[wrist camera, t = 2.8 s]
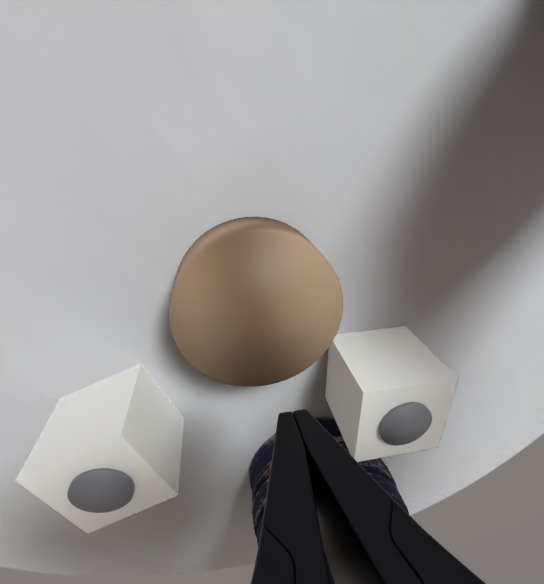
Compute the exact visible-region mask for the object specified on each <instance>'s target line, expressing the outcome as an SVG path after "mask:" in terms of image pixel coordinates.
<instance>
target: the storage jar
mask: <svg viewBox="0 0 544 584" xmlns="http://www.w3.org/2000/svg"><path fill="white" fill-rule="evenodd" d="M315 419H316V420H317V421H318V422H319V423H320V424H321V425H322V426H323V427H324V428H325V429H326V430H327V431H328V432H329V433H330V434H331V435H332V436H333V437H334V438H335V439H336V440H337V441H338V443H339V444H340V445H341V446H342V447H343V448H344V449H345V450H346V451H347V452H348V453H349V454H350V452H349V450H348V448H347V446H346V443H345V441H344V439H343V436H342V434H341V432H340V430H339V427H338V425H337V423H336V420H335V418H329V417H325V418H315ZM275 435H276V434H275ZM275 435H273V436H272V437H271V438H269V439H268V440H267V441H266V442H265V443H264V444H263V445H262V446H261V447H260V448H259V450H258V451H257V452H256V454H255V456H254V457H253V459H252V462H251V465H250V472H249V476H250V484H251V488H252V501H253V507H252V514H253V523H254V530H255V535H256V537H257V542H258V547H259V540H260V534H261V528H262V521H263V515H264V508H265V502H266V495H267V488H268V482H269V475H270V468H271V462H272V455H273V449H274V442H275ZM358 463H359V464H360V465H361V466H362V467H363V468H364V469H365V470H366V471H367V472H368V473H369V474H370V476H371V477H372V478H373V479H374V480H375V481H376V482H377V483H378V484H379V485H380V486H381V487H382V488H383V489H384V490H385V491H386V492H387V493H388V494H389V495H390V496H391V497H392V501H393V500H395V501H396V502H397V503H398V504H399V505H400V506H401V507H402V508H403V509H404V510H405V512H406V513H407V514H409V512H408V510H407V507H406V505H405V503H404V501H403V499H402V497H401V495H400V494H399V492H398V490H397V486H396V483H395V481H394V479H393V477H392V475H391V473H390V471H389V470H388V468H387V466H386V465H385V463H384V462H383V461H382V460H381V458H377V459H371V460H366V461H360V462H358ZM324 555H325V552H324ZM325 560H326V566H327V572H328V577H329V583H330V584H335V582H334V579H333V576H332V573H331V570H330V567H329V564H328V561H327V558H326V555H325Z"/></svg>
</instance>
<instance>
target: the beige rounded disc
mask: <svg viewBox="0 0 544 584" xmlns="http://www.w3.org/2000/svg"><path fill="white" fill-rule="evenodd" d="M342 312H343V295H342V289H341V285H340V282H339V280H338V277H337V275H336V273H335V271H334V269H333V267H332V266H331V265H330V263H329V262H328V261H327V259H326V258H325V257H324V256H323V255H322V254H321V253H320V252H319V251H318V250H317V249H316V248H315V247H314V245H313V244H312V243H311V242H310V241H309V240H308V239H307V238H306V237H305V236H304V235H303V234H302V233H300V232H299V231H298V230H296V229H295V228H293V227H291V226H289V225H288V224H286V223H283V222H280V221H278V220H274V219H269V218H263V217H244V218H238V219H233V220H230V221H227V222H224V223H222V224H219V225H217V226H215V227H213V228H212V229H210V230H209V231H207V232H205V233H204V234H203V235H202V236H201V237H199V238H198V239H197V240H196V241H195V242H194V243H193V244H192V246H191V247H190V248H189V249H188V251H187V252H186V254H185V255H184V257H183V259H182V261H181V263H180V266H179V269H178V272H177V276H176V280H175V284H174V287H173V291H172V295H171V299H170V306H169V323H170V330H171V333H172V336H173V339H174V342H175V344H176V346H177V348H178V349H179V351H180V352H181V354H182V355H183V357H184V358H185V359H186V360H187V361H188V362H189V363H190V364H191V365H192V366H193V367H194V368H196V369H197V370H198V371H200V372H201V373H203V374H204V375H206V376H208V377H210V378H212V379H214V380H217V381H220V382H223V383H226V384H231V385H236V386H263V385H269V384H273V383H277V382H280V381H284V380H286V379H289V378H291V377H293V376H295V375H297V374H299V373H301V372H302V371H304V370H305V369H307V368H308V367H310V366H311V365H312V364H313V363H315V362H316V361H317V360H318V359H319V358H320V357H321V356H322V355H323V354H324V352H325V351H326V350H327V349H328V347H329V346H330V344H331V343H332V341H333V339H334V338H335V336H336V334H337V331H338V329H339V326H340V322H341V318H342Z"/></svg>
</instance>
